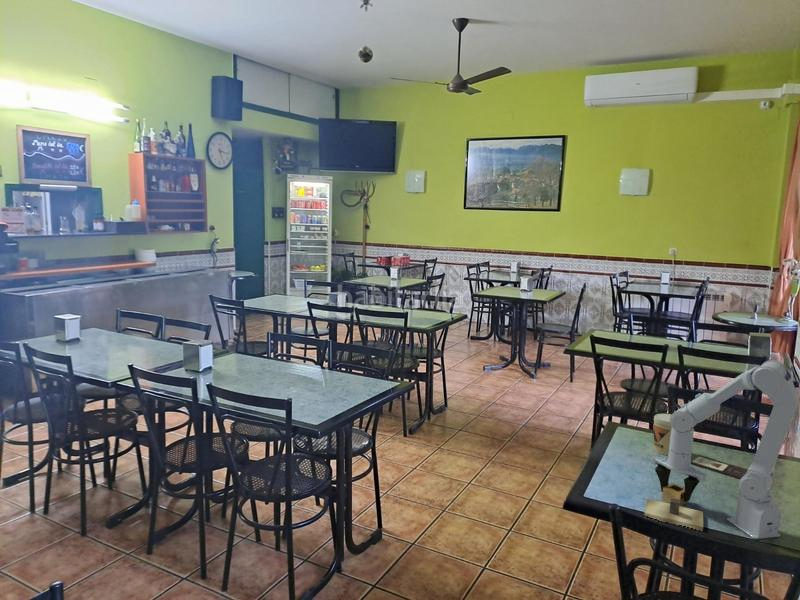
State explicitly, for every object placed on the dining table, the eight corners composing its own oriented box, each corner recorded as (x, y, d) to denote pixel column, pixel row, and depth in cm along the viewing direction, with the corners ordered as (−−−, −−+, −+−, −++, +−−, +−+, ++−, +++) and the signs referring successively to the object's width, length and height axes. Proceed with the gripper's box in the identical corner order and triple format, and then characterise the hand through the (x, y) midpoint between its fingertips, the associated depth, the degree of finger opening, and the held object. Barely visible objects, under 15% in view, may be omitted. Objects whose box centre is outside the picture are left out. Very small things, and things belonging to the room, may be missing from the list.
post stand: (702, 515, 157) (704, 500, 156) (702, 531, 149) (704, 515, 148) (646, 502, 163) (648, 487, 163) (644, 517, 155) (645, 501, 155)
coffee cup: (645, 446, 204) (648, 413, 202) (668, 445, 206) (672, 412, 204) (661, 457, 195) (665, 423, 193) (686, 456, 197) (690, 422, 195)
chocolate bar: (752, 481, 178) (690, 462, 190) (752, 484, 178) (690, 465, 190) (760, 473, 184) (700, 455, 196) (760, 476, 184) (699, 458, 197)
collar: (687, 502, 164) (689, 489, 163) (679, 507, 161) (680, 494, 160) (670, 495, 168) (671, 482, 167) (661, 500, 165) (663, 487, 164)
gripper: (713, 456, 159) (708, 502, 161) (662, 439, 170) (658, 482, 172) (701, 462, 155) (696, 509, 157) (650, 444, 166) (645, 488, 168)
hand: (675, 496), depth 164 cm, fingers open, 6 cm apart
